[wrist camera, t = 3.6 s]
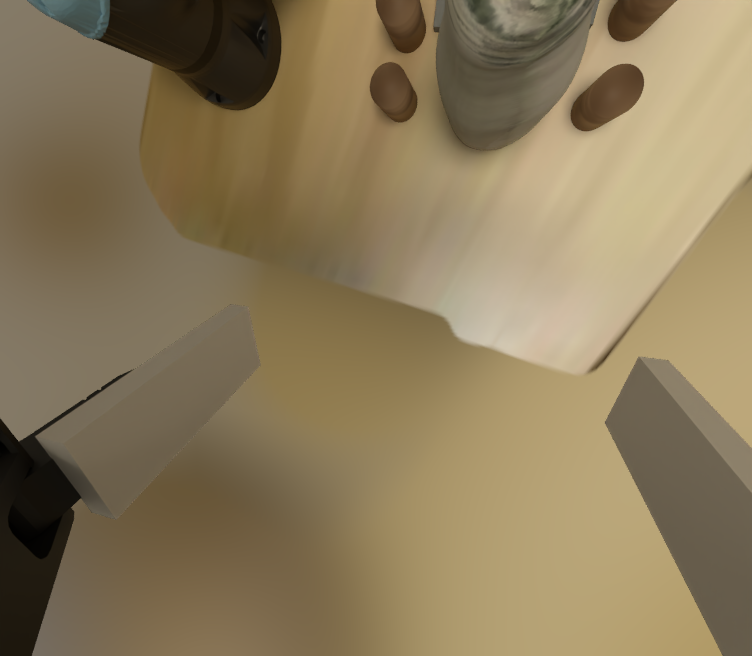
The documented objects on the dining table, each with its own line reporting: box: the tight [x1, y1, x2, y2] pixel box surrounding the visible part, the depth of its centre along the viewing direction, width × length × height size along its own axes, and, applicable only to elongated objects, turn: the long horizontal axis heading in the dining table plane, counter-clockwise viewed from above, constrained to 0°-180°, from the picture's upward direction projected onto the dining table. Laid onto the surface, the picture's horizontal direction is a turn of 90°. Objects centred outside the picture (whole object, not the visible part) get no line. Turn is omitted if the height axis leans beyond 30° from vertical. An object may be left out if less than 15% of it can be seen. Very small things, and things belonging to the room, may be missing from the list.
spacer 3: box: [571, 64, 644, 131], centre depth 32 cm, size 4×4×7 cm
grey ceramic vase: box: [436, 0, 597, 150], centre depth 25 cm, size 10×10×28 cm
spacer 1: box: [376, 0, 426, 53], centre depth 34 cm, size 4×4×7 cm
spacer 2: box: [370, 62, 417, 122], centre depth 37 cm, size 4×4×7 cm
